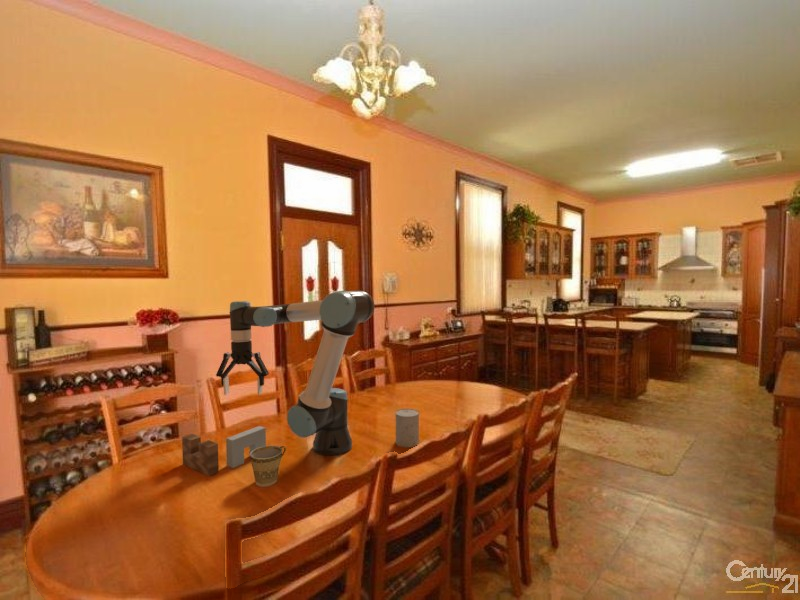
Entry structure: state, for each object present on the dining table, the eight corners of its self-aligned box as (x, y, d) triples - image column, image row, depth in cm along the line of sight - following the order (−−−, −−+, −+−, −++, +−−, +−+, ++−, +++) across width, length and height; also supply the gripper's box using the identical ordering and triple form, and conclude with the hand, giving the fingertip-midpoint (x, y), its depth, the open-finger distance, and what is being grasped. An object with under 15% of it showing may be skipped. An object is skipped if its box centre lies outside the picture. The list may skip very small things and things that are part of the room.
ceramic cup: (264, 493, 123) (263, 461, 123) (243, 484, 129) (243, 453, 128) (296, 475, 134) (295, 446, 134) (275, 467, 140) (275, 440, 139)
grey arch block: (265, 453, 151) (265, 427, 150) (232, 468, 139) (232, 440, 139) (259, 451, 153) (259, 425, 152) (226, 465, 141) (226, 438, 141)
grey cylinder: (422, 440, 164) (422, 410, 163) (413, 449, 155) (413, 418, 155) (401, 436, 168) (401, 407, 167) (391, 444, 159) (391, 414, 159)
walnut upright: (218, 472, 137) (217, 443, 136) (209, 476, 134) (208, 447, 133) (192, 460, 145) (191, 433, 145) (182, 464, 142) (182, 436, 142)
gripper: (275, 338, 160) (277, 391, 161) (215, 339, 162) (217, 391, 163) (268, 341, 153) (270, 396, 154) (205, 342, 154) (207, 396, 155)
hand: (243, 393), depth 158 cm, fingers open, 13 cm apart
